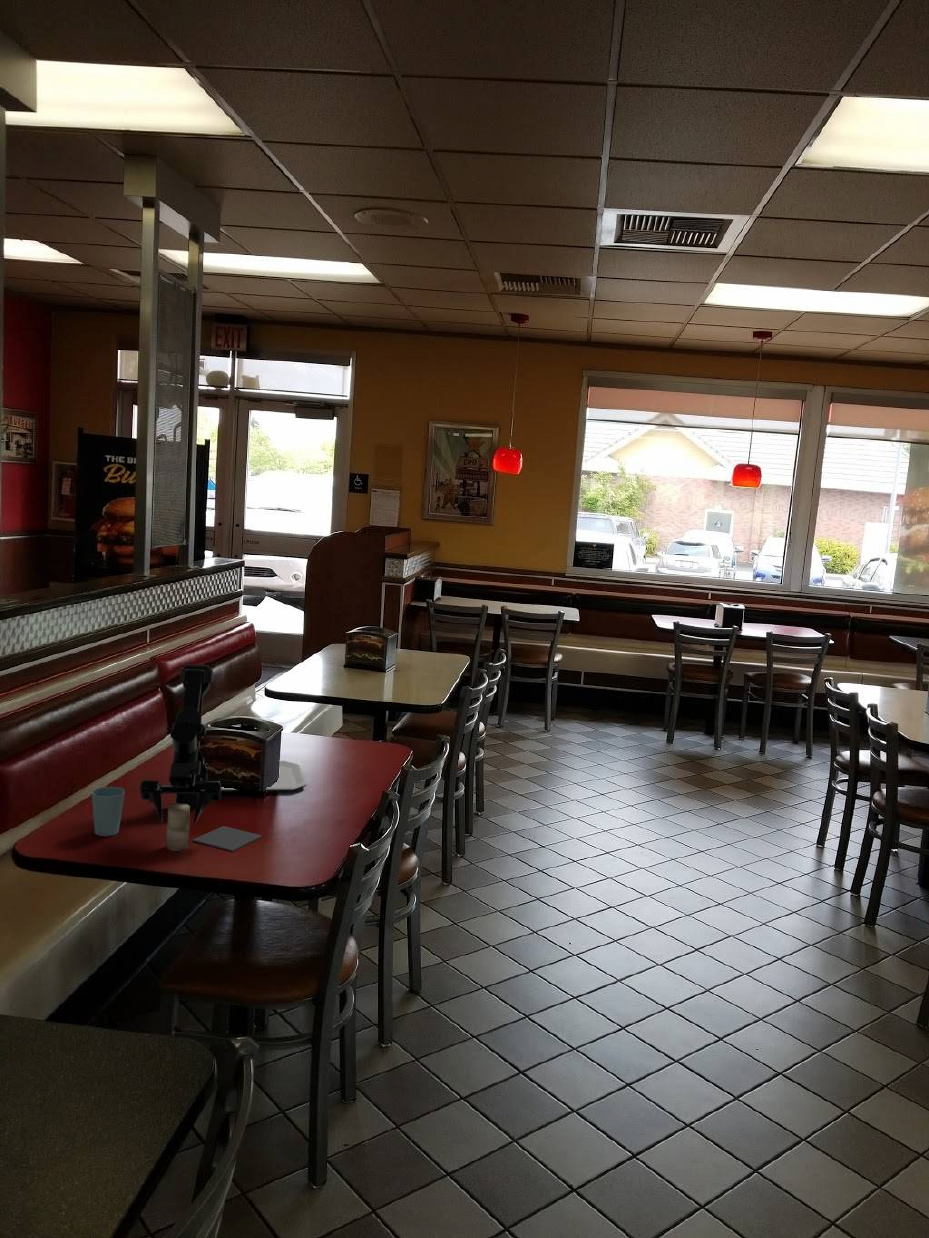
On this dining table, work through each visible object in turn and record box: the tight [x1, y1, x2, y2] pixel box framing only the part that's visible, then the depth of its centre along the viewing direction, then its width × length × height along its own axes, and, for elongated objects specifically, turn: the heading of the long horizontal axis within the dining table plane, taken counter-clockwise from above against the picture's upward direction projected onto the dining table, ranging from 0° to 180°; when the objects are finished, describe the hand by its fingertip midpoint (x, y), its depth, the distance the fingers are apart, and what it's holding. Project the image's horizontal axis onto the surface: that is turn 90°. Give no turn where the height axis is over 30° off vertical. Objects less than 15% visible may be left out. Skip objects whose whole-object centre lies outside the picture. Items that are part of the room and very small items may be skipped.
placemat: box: [192, 825, 263, 853], centre depth 236 cm, size 12×12×1 cm
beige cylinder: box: [165, 803, 191, 852], centre depth 228 cm, size 5×5×10 cm
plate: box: [221, 760, 307, 793], centre depth 285 cm, size 29×29×2 cm
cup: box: [90, 786, 126, 837], centre depth 234 cm, size 8×8×10 cm
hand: (177, 822), depth 226 cm, fingers open, 8 cm apart
